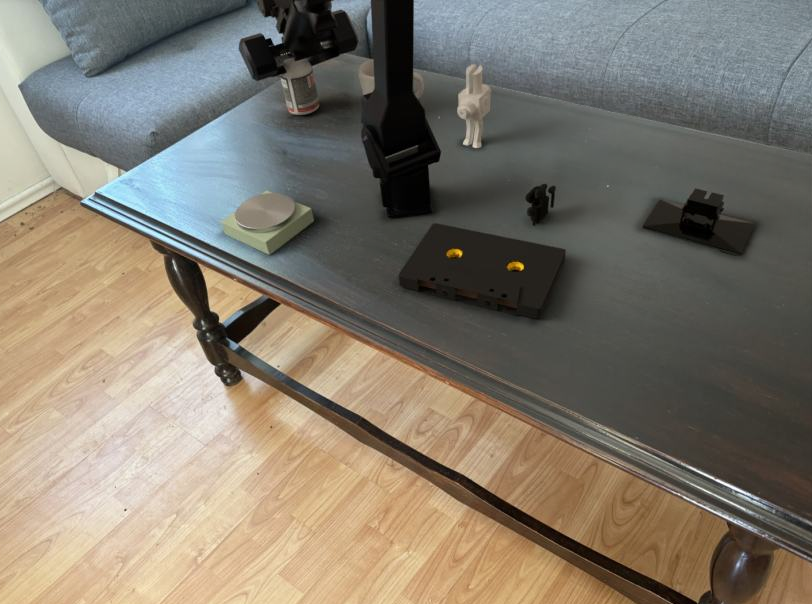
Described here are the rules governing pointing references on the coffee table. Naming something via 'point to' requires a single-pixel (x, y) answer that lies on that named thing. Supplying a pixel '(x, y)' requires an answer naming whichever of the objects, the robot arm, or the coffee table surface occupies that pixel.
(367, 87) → the cup
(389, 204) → the robot arm
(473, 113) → the toy robot
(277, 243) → the scale
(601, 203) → the coffee table surface
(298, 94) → the pill bottle
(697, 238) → the build plate
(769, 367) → the coffee table surface
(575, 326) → the coffee table surface
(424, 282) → the cassette tape
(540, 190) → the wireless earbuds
